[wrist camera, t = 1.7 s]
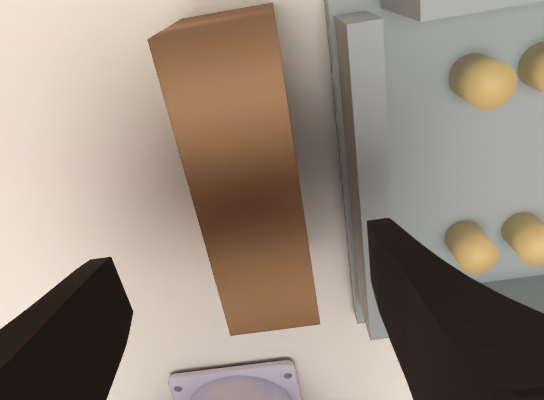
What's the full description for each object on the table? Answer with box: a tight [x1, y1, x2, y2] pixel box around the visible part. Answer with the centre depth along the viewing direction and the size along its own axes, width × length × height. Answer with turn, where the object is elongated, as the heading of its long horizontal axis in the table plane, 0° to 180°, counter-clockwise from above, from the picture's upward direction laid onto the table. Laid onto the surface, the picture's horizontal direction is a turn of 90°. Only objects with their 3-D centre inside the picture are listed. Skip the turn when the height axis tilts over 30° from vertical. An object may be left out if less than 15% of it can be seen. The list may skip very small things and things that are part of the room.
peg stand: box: [325, 0, 544, 340], centre depth 18 cm, size 18×14×6 cm
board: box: [148, 3, 320, 336], centre depth 18 cm, size 12×4×6 cm, turn 9°
